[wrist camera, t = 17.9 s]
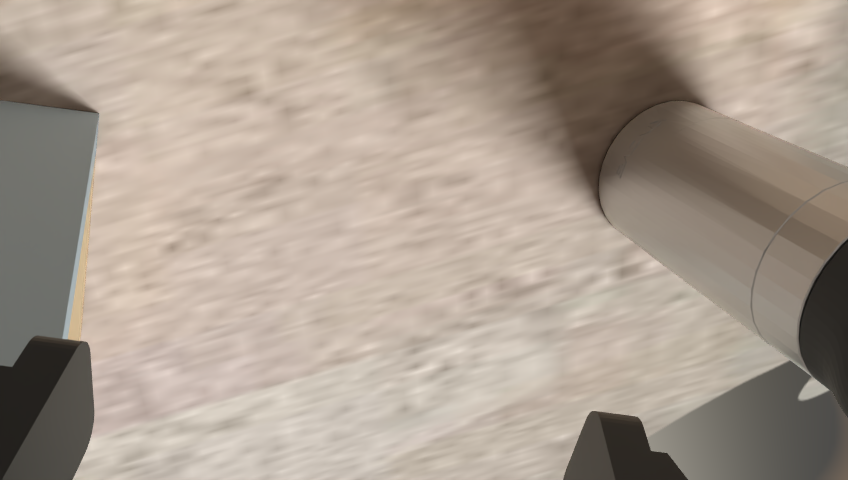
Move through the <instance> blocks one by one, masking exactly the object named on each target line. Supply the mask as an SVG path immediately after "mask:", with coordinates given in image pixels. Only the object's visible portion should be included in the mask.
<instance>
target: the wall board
mask: <svg viewBox="0 0 848 480" xmlns="http://www.w3.org/2000/svg"><path fill="white" fill-rule="evenodd" d="M98 121H99V113H92V112H85V111H77V110H70V109H62V108H55V107H47V106H40V105H32V104H25V103H17V102H9V101H2V100H0V365H2V366H9V367H12V366H13V365H14V363H15V362H16V360H17V359H18V357H19V356H20V354H21V353H22V351H23V350H24V348H25V347H26V345H27V344H28V342H29V341H30V340H31V339H32V338H33V337H34V336H37V335H39V336H46V337H54V338H61V339H69V340H76V341H80V337H81V327H82V315H83V303H84V291H85V279H86V266H87V254H88V242H89V230H90V218H91V206H92V194H93V181H94V169H95V157H96V145H97V133H98Z"/></svg>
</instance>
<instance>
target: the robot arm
mask: <svg viewBox="0 0 848 480" xmlns="http://www.w3.org/2000/svg"><path fill="white" fill-rule="evenodd" d="M599 196H600V202H601V207H602V209H603V211H604V213H605V216H606V218H607V219H608V220H609V222H610V223H611V224H612V225H613V227H614V228H616V229H617V230H618V231H620V232H621V233H622V234H624V235H625V236H626V237H627V238H629V239H630V240H631V241H633V242H634V243H635V244H637V245H638V246H639V247H641V248H642V249H643V250H645V251H646V252H647V253H648V254H650V255H651V256H652V257H653V258H655V259H656V260H657V261H659V262H660V263H661V264H663V265H664V266H665V267H667V268H668V269H669V270H671V271H672V272H673V273H675V274H676V275H677V276H679V277H680V278H681V279H683V280H684V281H685V282H687V283H688V284H689V285H691V286H692V287H693V288H695V289H696V290H697V291H699V292H700V293H701V294H703V295H704V296H705V297H707V298H708V299H709V300H710V301H712V302H713V303H714V304H716V305H717V306H718V307H720V308H721V309H722V310H724V311H725V312H726V313H728V314H729V315H730V316H732V317H733V318H734V319H736V320H737V321H738V322H740V323H741V324H742V325H744V326H745V327H746V328H748V329H749V330H750V331H752V332H753V333H754V334H756V335H757V336H758V337H760V338H761V339H762V340H764V341H765V342H766V343H768V344H769V345H771V346H772V347H774V348H775V349H776V350H778V351H779V352H780V353H782V354H783V355H784V356H786V357H787V358H788V359H790V360H791V361H792V362H794V363H795V364H796V365H798V366H799V367H800V368H802V369H803V370H804V371H806V372H807V373H808V374H810V375H811V376H812V377H813V378H815V379H816V380H818V381H819V382H820V383H821V384H823V385H824V386H825V387H827V388H828V389H829V390H830V391H832V392H833V394H834V396H835V397H836V400H837V402H838V404H839V405H840V407H841V409H842V410H843V412H844V413H845V414H846V416H847V417H848V167H846V166H844V165H841V164H839V163H837V162H834V161H832V160H829V159H827V158H825V157H822V156H820V155H818V154H815V153H813V152H810V151H808V150H806V149H803V148H801V147H798V146H796V145H794V144H791V143H789V142H787V141H784V140H782V139H779V138H777V137H775V136H772V135H770V134H767V133H765V132H763V131H760V130H758V129H755V128H753V127H751V126H748V125H746V124H744V123H742V122H739V121H737V120H735V119H732V118H730V117H728V116H725V115H723V114H720V113H718V112H716V111H713V110H711V109H708V108H706V107H704V106H701V105H699V104H696V103H692V102H687V101H669V102H666V103H662V104H658V105H655V106H653V107H651V108H649V109H647V110H646V111H644V112H642V113H641V114H639V115H638V116H637V117H635V118H634V119H633V120H631V121H630V122H629V123H628V124H627V125H626V126H625V127H624V128H623V130H622V131H621V132H620V133H619V134H618V135H617V137H616V138H615V140H614V141H613V143H612V145H611V146H610V148H609V150H608V152H607V154H606V157H605V159H604V161H603V165H602V169H601V173H600V177H599ZM93 422H94V400H93V386H92V371H91V356H90V348H89V345H88V343H87V342H84V341H76V340H69V339H61V338H54V337H46V336H39V335H37V336H34V337H33V338H32V339H31V340H30V341H29V342H28V344H27V345H26V347H25V348H24V350H23V351H22V353H21V354H20V356H19V357H18V359H17V360H16V362H15V363H14V365H13V366H12V367H9V366H2V365H0V480H72V479H73V477H74V475H75V473H76V471H77V469H78V467H79V465H80V463H81V460H82V458H83V456H84V454H85V452H86V450H87V447H88V444H89V441H90V437H91V433H92V429H93ZM563 480H688V479H687V478H686V477H685V476H684V474H683V473H682V472H681V470H680V469H679V468H678V466H677V465H676V464H675V463H674V461H673V460H672V459H671V457H670V456H669V455H668V454H667V453H661V452H653V451H651V450H650V447H649V444H648V440H647V437H646V434H645V431H644V427H643V425H642V422H641V420H640V419H639V418H638V417H635V416H628V415H620V414H613V413H605V412H598V411H592V412H591V413H590V414H589V415H588V417H587V419H586V421H585V424H584V426H583V429H582V431H581V434H580V436H579V439H578V441H577V444H576V446H575V449H574V451H573V454H572V456H571V459H570V461H569V464H568V466H567V469H566V472H565V475H564V479H563Z"/></svg>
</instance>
